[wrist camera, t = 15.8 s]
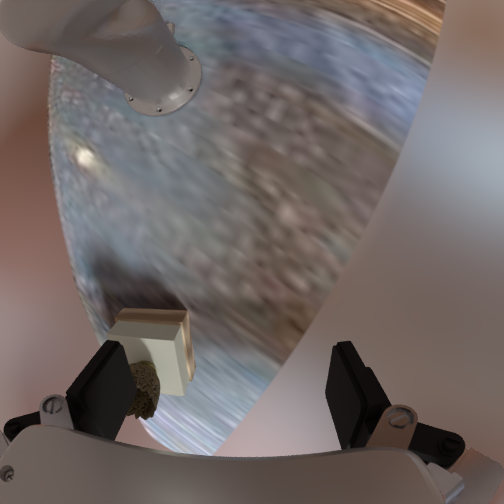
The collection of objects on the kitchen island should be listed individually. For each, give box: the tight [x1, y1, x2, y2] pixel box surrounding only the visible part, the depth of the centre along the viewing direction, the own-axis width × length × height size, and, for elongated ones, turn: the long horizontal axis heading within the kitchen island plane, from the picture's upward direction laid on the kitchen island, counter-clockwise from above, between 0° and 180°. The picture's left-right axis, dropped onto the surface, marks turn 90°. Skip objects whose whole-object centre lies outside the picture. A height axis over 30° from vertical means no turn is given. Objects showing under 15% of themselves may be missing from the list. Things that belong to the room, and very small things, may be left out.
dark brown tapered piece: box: [127, 361, 160, 420], centre depth 33 cm, size 8×7×8 cm
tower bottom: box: [114, 308, 196, 381], centre depth 43 cm, size 12×12×4 cm
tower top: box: [107, 320, 189, 396], centre depth 39 cm, size 11×11×4 cm
